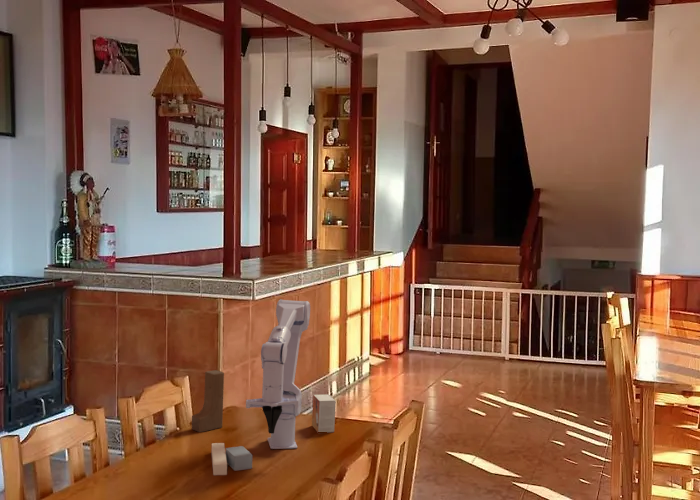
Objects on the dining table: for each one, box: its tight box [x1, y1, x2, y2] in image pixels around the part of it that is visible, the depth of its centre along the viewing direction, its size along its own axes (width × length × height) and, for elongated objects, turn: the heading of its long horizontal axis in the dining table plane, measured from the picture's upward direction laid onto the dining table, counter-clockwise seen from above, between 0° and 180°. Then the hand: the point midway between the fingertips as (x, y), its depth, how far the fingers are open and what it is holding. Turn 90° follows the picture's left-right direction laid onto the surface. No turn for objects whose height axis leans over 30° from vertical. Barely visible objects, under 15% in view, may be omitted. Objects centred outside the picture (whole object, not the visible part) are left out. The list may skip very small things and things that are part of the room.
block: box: [225, 445, 253, 471], centre depth 211 cm, size 8×5×4 cm, turn 27°
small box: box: [311, 393, 337, 433], centre depth 247 cm, size 8×6×10 cm
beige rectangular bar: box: [211, 442, 228, 476], centre depth 212 cm, size 18×4×3 cm, turn 12°
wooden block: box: [191, 369, 225, 433], centre depth 242 cm, size 9×4×18 cm, turn 135°
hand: (271, 432), depth 214 cm, fingers closed
